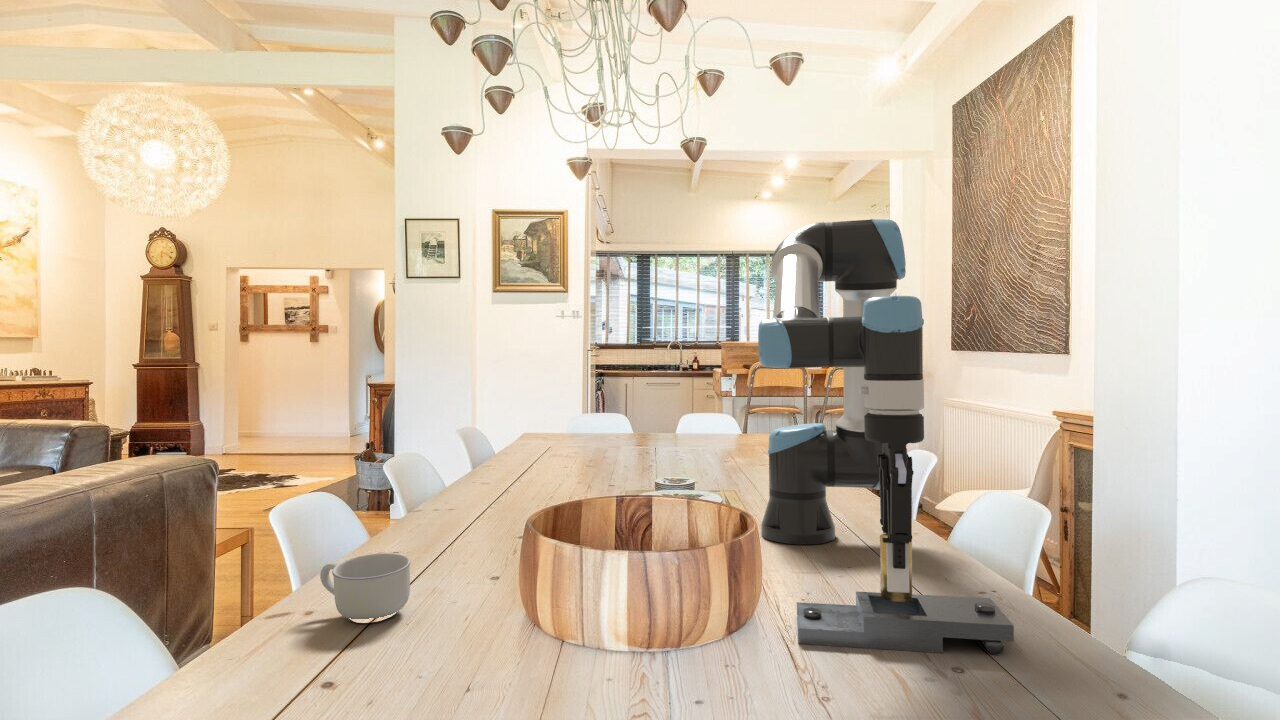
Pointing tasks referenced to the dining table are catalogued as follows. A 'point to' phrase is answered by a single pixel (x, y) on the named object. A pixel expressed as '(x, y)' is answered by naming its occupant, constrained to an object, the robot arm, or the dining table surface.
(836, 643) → the grey slotted bracket
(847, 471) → the robot arm
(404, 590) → the teacup
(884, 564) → the brass pin
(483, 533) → the dining table surface
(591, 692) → the dining table surface
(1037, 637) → the dining table surface
